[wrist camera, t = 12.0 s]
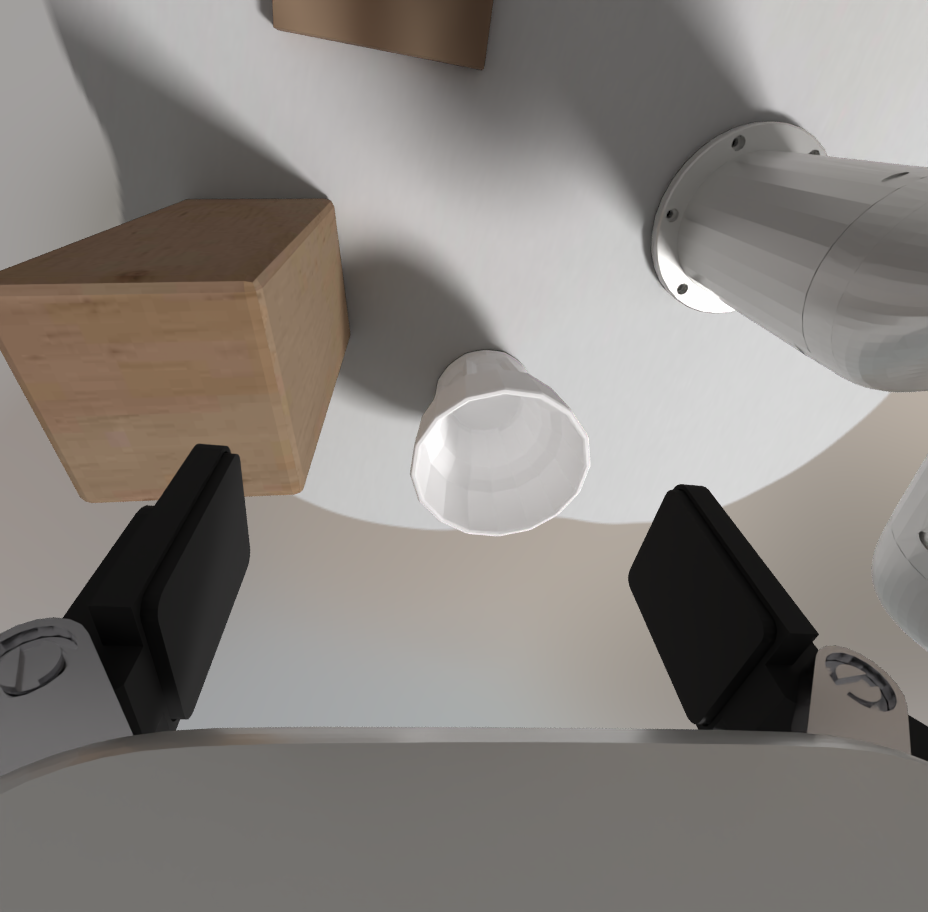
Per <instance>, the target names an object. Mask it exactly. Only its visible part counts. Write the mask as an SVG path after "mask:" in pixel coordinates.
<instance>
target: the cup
mask: <svg viewBox="0 0 928 912" xmlns="http://www.w3.org/2000/svg"><path fill="white" fill-rule="evenodd" d="M589 467H590V450H589V436H588V434H587V433H586V431H585V430H584V428H583V427H582V425H581V424H580V422H579V421H578V419H577V418H576V416H575V414H574V413H573V411H572V410H571V409H570V408H569V407H568V406H567V404H566V403H565V402H564V401H563V400H562V399H561V398H560V397H559V396H558V395H557V393H556V392H555V391H554V390H553V389H552V388H551V387H549V386H547V385H546V384H544V383H543V382H541V381H539V380H538V379H536V378H535V377H533V376H532V375H530V374H529V373H528V372H527V370H526V369H525V368H524V366H523V365H522V364H521V363H520V362H519V361H518V360H516V359H515V358H513V357H512V356H510V355H508V354H507V353H505V352H500V351H493V350H481V351H475V352H471V353H467V354H464V355H463V356H461V357H460V358H458V359H457V360H455V361H454V362H453V363H451V364H450V365H449V366H448V367H447V368H446V370H445V371H444V372H443V374H442V375H441V377H440V378H439V380H438V384H437V389H436V394H435V397H434V400H433V402H432V403H431V404H430V406H429V407H428V409H427V410H426V412H425V413H424V414H423V416H422V419H421V422H420V426H419V430H418V433H417V437H416V441H415V445H414V451H413V458H412V464H411V471H410V475H411V478H412V481H413V484H414V487H415V491H416V494H417V497H418V500H419V501H420V502H421V503H422V504H423V505H424V506H425V507H426V508H427V509H428V510H429V511H430V512H431V513H432V514H433V515H434V516H435V517H436V518H437V519H438V520H439V521H440V522H442V523H445V524H447V525H449V526H451V527H453V528H456V529H458V530H460V531H462V532H465V533H467V534H478V535H489V536H502V535H508V534H513V533H518V532H523V531H528V530H531V529H533V528H535V527H537V526H538V525H540V524H542V523H544V522H546V521H548V520H550V519H552V518H553V517H555V516H557V515H558V514H559V513H560V512H561V511H562V510H563V509H564V508H565V507H566V506H567V505H568V504H569V503H570V502H571V501H572V500H573V499H574V498H575V497H576V496H577V495H578V494H579V493H580V490H581V488H582V485H583V483H584V480H585V478H586V475H587V472H588V470H589Z"/></svg>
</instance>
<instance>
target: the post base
mask: <svg viewBox="0 0 928 912" xmlns="http://www.w3.org/2000/svg"><path fill="white" fill-rule="evenodd" d="M272 5H273V27H274V28H276V29H277V30H280V31H286V32H291V33H296V34H301V35H306V36H311V37H316V38H321V39H326V40H331V41H336V42H341V43H346V44H352V45H357V46H362V47H367V48H372V49H377V50H382V51H387V52H392V53H397V54H402V55H407V56H413V57H418V58H423V59H428V60H433V61H438V62H443V63H448V64H453V65H458V66H463V67H468V68H474V69H479V70H483V69H484V65H485V58H486V51H487V43H488V36H489V29H490V22H491V14H492V7H493V0H272Z"/></svg>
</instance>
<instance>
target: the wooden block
mask: <svg viewBox="0 0 928 912" xmlns="http://www.w3.org/2000/svg"><path fill="white" fill-rule="evenodd" d="M349 338H350V328H349V320H348V312H347V304H346V296H345V288H344V280H343V272H342V265H341V257H340V249H339V241H338V233H337V225H336V217H335V209H334V205H333V204H332V202H331V201H330V200H328V199H186V200H184V201H181V202H179V203H176V204H173V205H171V206H168V207H166V208H163V209H160V210H158V211H155V212H153V213H150V214H147V215H145V216H142V217H140V218H137V219H134V220H132V221H129V222H126V223H124V224H121V225H119V226H116V227H113V228H111V229H109V230H106V231H103V232H100V233H98V234H95V235H93V236H90V237H87V238H85V239H82V240H80V241H77V242H74V243H72V244H69V245H66V246H64V247H61V248H59V249H56V250H53V251H51V252H48V253H46V254H43V255H40V256H38V257H35V258H32V259H30V260H27V261H25V262H22V263H20V264H17V265H14V266H12V267H9V268H7V269H4V270H1V271H0V350H1V352H2V354H3V356H4V357H5V359H6V361H7V363H8V365H9V367H10V369H11V370H12V372H13V374H14V376H15V378H16V380H17V382H18V383H19V385H20V387H21V389H22V391H23V393H24V394H25V396H26V398H27V400H28V402H29V404H30V405H31V407H32V409H33V411H34V413H35V415H36V416H37V418H38V420H39V422H40V424H41V426H42V428H43V430H44V431H45V433H46V435H47V437H48V439H49V441H50V442H51V444H52V446H53V448H54V450H55V452H56V453H57V455H58V457H59V459H60V461H61V463H62V464H63V466H64V468H65V470H66V472H67V474H68V475H69V477H70V479H71V481H72V483H73V485H74V487H75V489H76V490H77V492H78V494H79V496H80V497H81V498H82V499H83V500H85V501H86V502H90V503H102V502H124V501H125V502H126V501H149V500H159V498H160V497H161V495H162V494H163V492H164V491H165V489H166V488H167V486H168V485H169V483H170V482H171V480H172V479H173V477H174V476H175V474H176V473H177V471H178V470H179V468H180V467H181V465H182V464H183V462H184V461H185V459H186V458H187V456H188V455H189V453H190V452H191V450H192V449H193V447H194V446H195V445H196V444H211V445H223V446H228V447H229V448H230V450H231V453H233V454H238V455H239V456H240V461H241V470H242V480H243V489H244V497H246V496H270V495H294V494H297V493H300V492H301V491H302V490H303V488H304V485H305V482H306V478H307V475H308V472H309V469H310V465H311V462H312V459H313V455H314V452H315V449H316V446H317V442H318V439H319V436H320V433H321V429H322V426H323V423H324V420H325V416H326V413H327V410H328V406H329V403H330V400H331V397H332V393H333V390H334V387H335V384H336V380H337V377H338V374H339V370H340V367H341V364H342V361H343V357H344V354H345V351H346V348H347V344H348V341H349Z"/></svg>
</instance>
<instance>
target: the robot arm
mask: <svg viewBox="0 0 928 912" xmlns="http://www.w3.org/2000/svg"><path fill="white" fill-rule="evenodd" d="M734 139H735V143H734V145H733V146H732V142H733V140H734ZM669 210H670V211H671V212H670V215H669V216H668V217H666V215H667V213H668V211H669ZM651 252H652V258H653V264H654V268H655V271H656V273H657V276H658V278H659V281H660V282H661V283H662V285H663V286H664V288H665V289H666V291H667V292H668V293H669V294H671V295H672V296H673V297H674V298H675V299H676V300H678V301H679V302H681V303H682V304H684V305H685V306H687V307H689V308H692V309H694V310H697V311H700V312H707V313H728V312H733V311H737V312H739V313H740V314H742V315H743V316H745V317H747V318H748V319H750V320H751V321H753V322H754V323H756V324H758V325H759V326H761V327H762V328H764V329H765V330H767V331H769V332H770V333H772V334H773V335H775V336H776V337H778V338H780V339H781V340H783V341H784V342H786V343H787V344H789V345H791V346H792V347H794V348H795V349H797V350H798V351H800V352H802V353H803V354H805V355H806V356H808V357H810V358H811V359H813V360H815V361H816V362H818V363H820V364H821V365H823V366H824V367H826V368H827V369H829V370H831V371H832V372H834V373H835V374H837V375H839V376H840V377H842V378H844V379H846V380H848V381H850V382H852V383H855V384H857V385H860V386H863V387H866V388H870V389H875V390H881V391H888V392H916V391H928V167H919V166H910V165H901V164H892V163H883V162H874V161H866V160H857V159H848V158H839V157H830V156H827V153H826V151H825V149H824V148H823V146H822V145H821V144H820V143H819V141H818V140H817V139H816V138H815V137H814V136H813V135H811V134H810V133H809V132H807V131H806V130H804V129H803V128H800V127H798V126H795V125H792V124H789V123H783V122H772V121H771V122H753V123H750V124H746V125H742V126H738V127H735V128H733V129H731V130H729V131H727V132H725V133H723V134H721V135H719V136H717V137H715V138H714V139H713V140H711V141H710V142H708V143H707V144H706V145H704V146H703V147H701V148H700V149H699V150H698V151H697V152H696V153H695V154H694V155H693V156H692V157H691V158H690V159H689V160H688V161H687V162H686V163H685V164H684V165H683V166H682V168H681V169H680V170H679V172H678V173H677V174H676V176H675V177H674V178H673V180H672V181H671V183H670V185H669V187H668V188H667V190H666V192H665V194H664V196H663V198H662V200H661V203H660V205H659V208H658V211H657V213H656V216H655V221H654V226H653V231H652V246H651ZM679 285H680V287H679V288H677V287H678V286H679ZM249 558H250V544H249V535H248V526H247V516H246V508H245V498H244V489H243V480H242V470H241V461H240V456H239V455H238V454H233V453H231V450H230V448H229V447H228V446H223V445H211V444H196V445H195V446H194V447H193V449H192V450H191V452H190V453H189V455H188V456H187V458H186V459H185V461H184V462H183V464H182V465H181V467H180V468H179V470H178V471H177V473H176V474H175V476H174V477H173V479H172V480H171V482H170V483H169V485H168V486H167V488H166V489H165V491H164V492H163V494H162V495H161V497H160V498H159V500H158V501H157V503H156V504H155V506H147V505H146V506H144V507H142V508H141V509H140V510H139V511H138V512H137V513H136V514H135V516H134V517H133V519H132V520H131V521H130V523H129V524H128V526H127V527H126V529H125V530H124V531H123V533H122V534H121V536H120V537H119V539H118V540H117V541H116V543H115V544H114V546H113V547H112V548H111V550H110V551H109V553H108V554H107V556H106V557H105V558H104V560H103V561H102V563H101V564H100V566H99V567H98V568H97V570H96V571H95V573H94V574H93V575H92V577H91V578H90V580H89V581H88V583H87V584H86V586H85V587H84V588H83V590H82V591H81V593H80V594H79V596H78V597H77V598H76V600H75V601H74V603H73V604H72V605H71V607H70V608H69V610H68V611H67V613H66V614H65V615H64V617H63V618H54V617H53V618H45V619H37V620H33V621H30V622H27V623H24V624H20V625H17V626H15V627H13V628H11V629H9V630H7V631H5V632H3V633H1V634H0V912H928V727H927V726H926V725H924V724H923V723H921V722H919V721H917V720H916V719H914V718H913V717H911V716H909V715H908V708H907V703H906V700H905V696H904V694H903V693H902V691H901V690H900V688H899V686H898V685H897V683H896V682H895V681H894V680H893V679H892V678H891V677H890V676H889V675H888V673H887V672H885V671H884V670H883V669H881V667H879V666H878V665H877V664H875V663H874V662H873V661H871V660H870V659H868V658H866V657H865V656H863V655H862V654H860V653H857V652H855V651H853V650H850V649H848V648H845V647H840V646H836V645H833V646H825V647H823V648H821V649H819V650H818V649H817V648H816V646H815V645H814V644H813V641H814V640H815V638H816V637H817V636H818V635H819V634H818V633H817V631H816V630H815V629H814V627H813V626H812V625H811V623H810V622H809V621H808V619H807V618H806V617H805V616H804V614H803V613H802V612H801V610H800V609H799V608H798V606H797V605H796V604H795V602H794V601H793V600H792V598H791V597H790V596H789V595H788V593H787V592H786V591H785V589H784V588H783V587H782V585H781V584H780V583H779V582H778V580H777V579H776V578H775V576H774V575H773V574H772V572H771V571H770V570H769V568H768V567H767V566H766V564H765V563H764V562H763V560H762V559H761V558H760V557H759V555H758V554H757V553H756V551H755V550H754V549H753V547H752V546H751V545H750V543H749V542H748V541H747V540H746V538H745V537H744V536H743V534H742V533H741V532H740V530H739V529H738V528H737V527H736V525H735V524H734V522H733V521H732V520H731V519H730V517H729V516H728V515H727V513H726V512H725V511H724V510H723V508H722V507H721V505H720V504H719V503H718V502H717V500H716V499H715V498H714V496H713V495H712V494H711V492H710V491H709V490H708V489H707V488H706V487H704V486H695V485H684V484H680V485H677V486H676V487H675V488H674V489H673V490H669V491H668V492H667V494H666V495H665V497H664V499H663V501H662V504H661V506H660V508H659V510H658V512H657V514H656V516H655V518H654V520H653V522H652V525H651V527H650V529H649V531H648V533H647V535H646V537H645V539H644V542H643V543H642V546H641V548H640V550H639V552H638V554H637V556H636V558H635V560H634V562H633V564H632V567H631V569H630V571H629V575H628V581H629V586H630V589H631V591H632V593H633V595H634V597H635V600H636V602H637V604H638V607H639V609H640V611H641V614H642V616H643V618H644V620H645V622H646V625H647V627H648V629H649V632H650V634H651V636H652V638H653V641H654V643H655V645H656V647H657V650H658V652H659V654H660V656H661V659H662V661H663V663H664V666H665V668H666V670H667V672H668V674H669V677H670V679H671V681H672V684H673V686H674V688H675V690H676V693H677V695H678V697H679V699H680V702H681V704H682V706H683V708H684V711H685V713H686V715H687V717H688V719H689V720H690V721H691V722H692V723H694V724H696V726H697V727H698V730H689V729H686V730H685V729H613V728H605V729H604V728H497V727H495V728H494V727H493V728H492V727H487V728H486V727H482V728H481V727H272V728H271V727H265V728H211V729H194V730H177V731H176V728H177V726H178V723H179V721H180V719H189V718H190V716H191V715H192V713H193V711H194V708H195V706H196V703H197V700H198V697H199V695H200V692H201V689H202V687H203V684H204V682H205V679H206V676H207V673H208V671H209V668H210V666H211V663H212V660H213V658H214V655H215V652H216V650H217V647H218V644H219V642H220V639H221V636H222V634H223V631H224V629H225V625H226V623H227V620H228V618H229V615H230V613H231V610H232V607H233V605H234V601H235V599H236V597H237V594H238V591H239V588H240V586H241V583H242V581H243V578H244V575H245V572H246V570H247V567H248V564H249ZM871 569H872V579H873V585H874V589H875V591H876V594H877V596H878V598H879V600H880V602H881V604H882V606H883V607H884V609H885V610H886V612H887V613H888V614H889V616H890V617H891V618H892V619H893V620H894V622H895V623H896V624H897V625H898V626H899V627H900V628H901V629H902V630H903V631H904V632H905V633H906V634H907V635H908V636H909V637H910V638H912V639H913V640H914V641H915V642H916V643H918V644H919V645H920V646H921V647H923V648H924V649H925V650H926V651H928V454H927V456H926V458H925V459H924V461H923V463H922V464H921V466H920V468H919V469H918V471H917V473H916V475H915V476H914V478H913V480H912V481H911V483H910V485H909V486H908V488H907V490H906V491H905V493H904V495H903V496H902V498H901V500H900V501H899V503H898V505H897V506H896V508H895V510H894V511H893V514H892V516H891V517H890V519H889V521H888V523H887V524H886V526H885V528H884V530H883V532H882V534H881V536H880V538H879V540H878V543H877V545H876V548H875V551H874V554H873V561H872V568H871Z"/></svg>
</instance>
